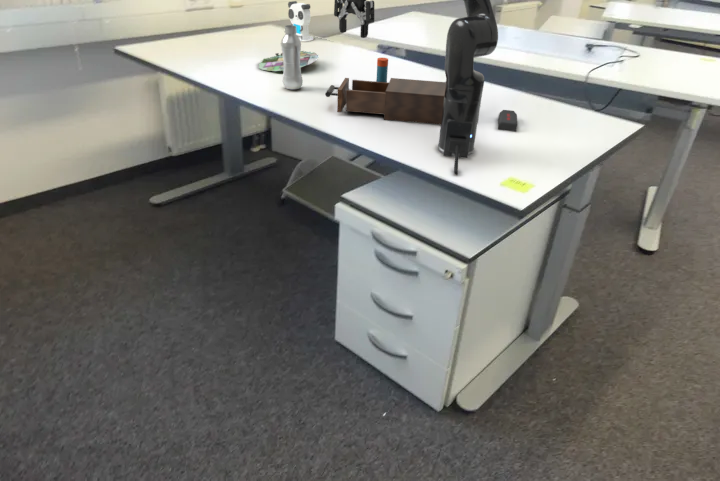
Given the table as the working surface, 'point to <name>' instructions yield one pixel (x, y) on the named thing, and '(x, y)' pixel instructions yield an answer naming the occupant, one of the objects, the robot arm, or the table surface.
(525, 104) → the table surface
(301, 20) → the panda figurine
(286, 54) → the plastic bottle
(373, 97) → the drawer
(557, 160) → the table surface
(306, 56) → the city model
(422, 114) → the cabinet
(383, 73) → the glue stick
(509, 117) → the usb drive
